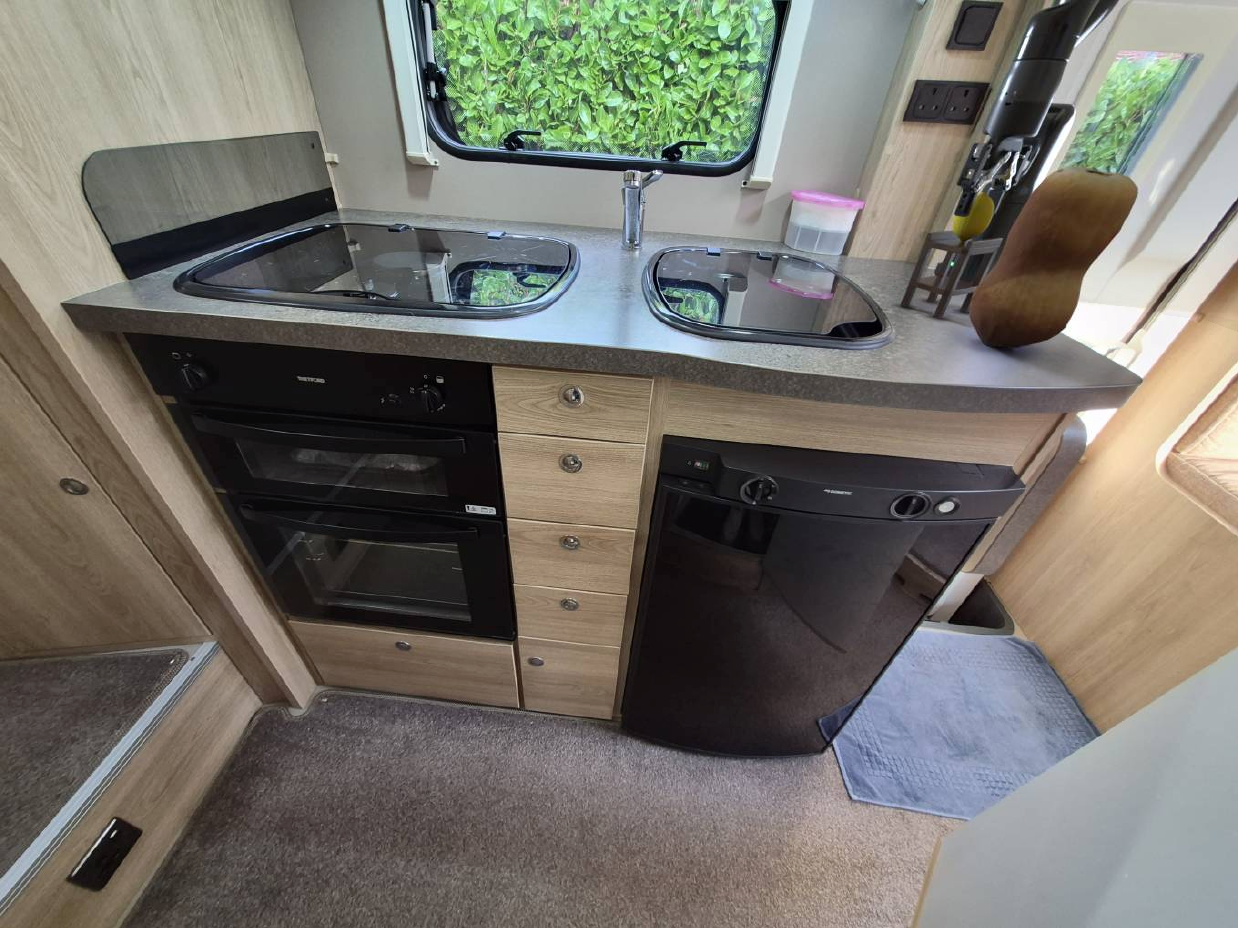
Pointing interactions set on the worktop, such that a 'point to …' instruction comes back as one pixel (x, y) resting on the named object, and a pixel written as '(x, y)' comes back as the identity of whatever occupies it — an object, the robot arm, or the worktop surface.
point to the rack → (952, 283)
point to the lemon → (974, 219)
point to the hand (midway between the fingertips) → (974, 215)
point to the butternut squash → (1050, 256)
